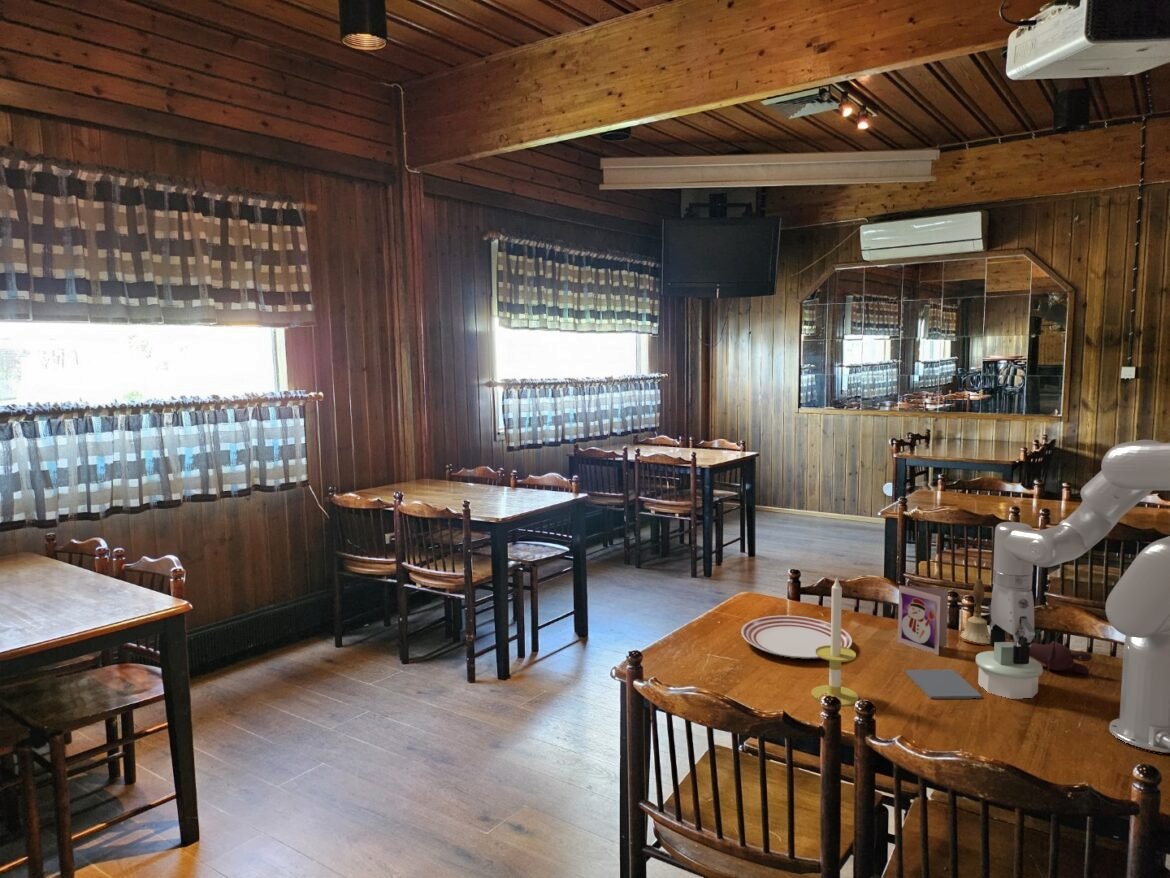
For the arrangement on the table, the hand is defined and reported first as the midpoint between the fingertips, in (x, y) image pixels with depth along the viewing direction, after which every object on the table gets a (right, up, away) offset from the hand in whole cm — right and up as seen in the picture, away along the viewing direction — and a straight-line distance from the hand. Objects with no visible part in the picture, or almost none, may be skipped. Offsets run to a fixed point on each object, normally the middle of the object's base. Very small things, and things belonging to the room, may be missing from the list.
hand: (1008, 654), depth 173 cm
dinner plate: (-39, -6, +28) cm, 49 cm away
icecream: (+16, -7, +11) cm, 20 cm away
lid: (0, -3, 0) cm, 3 cm away
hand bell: (+8, -5, +30) cm, 31 cm away
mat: (-13, -8, +3) cm, 16 cm away
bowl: (0, -8, +1) cm, 8 cm away
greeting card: (-7, -5, +26) cm, 27 cm away
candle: (-39, -9, -1) cm, 40 cm away
